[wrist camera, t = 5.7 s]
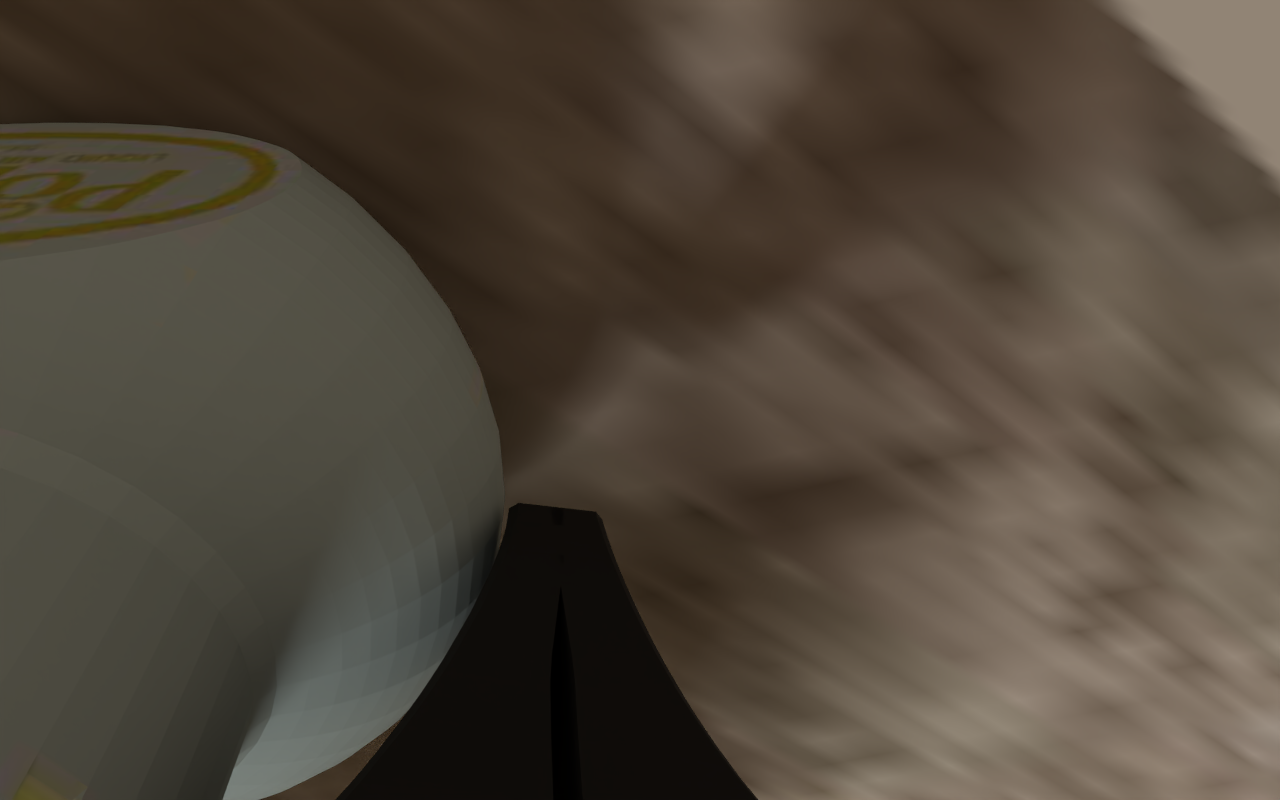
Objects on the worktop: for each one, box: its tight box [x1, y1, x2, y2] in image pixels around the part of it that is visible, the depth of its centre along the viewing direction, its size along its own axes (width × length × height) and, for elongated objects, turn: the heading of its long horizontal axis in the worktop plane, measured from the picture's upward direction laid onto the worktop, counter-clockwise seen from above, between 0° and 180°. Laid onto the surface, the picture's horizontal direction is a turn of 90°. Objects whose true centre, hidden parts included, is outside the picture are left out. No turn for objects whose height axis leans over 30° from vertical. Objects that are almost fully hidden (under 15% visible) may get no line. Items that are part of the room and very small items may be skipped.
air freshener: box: [0, 123, 505, 800], centre depth 10 cm, size 11×8×10 cm
